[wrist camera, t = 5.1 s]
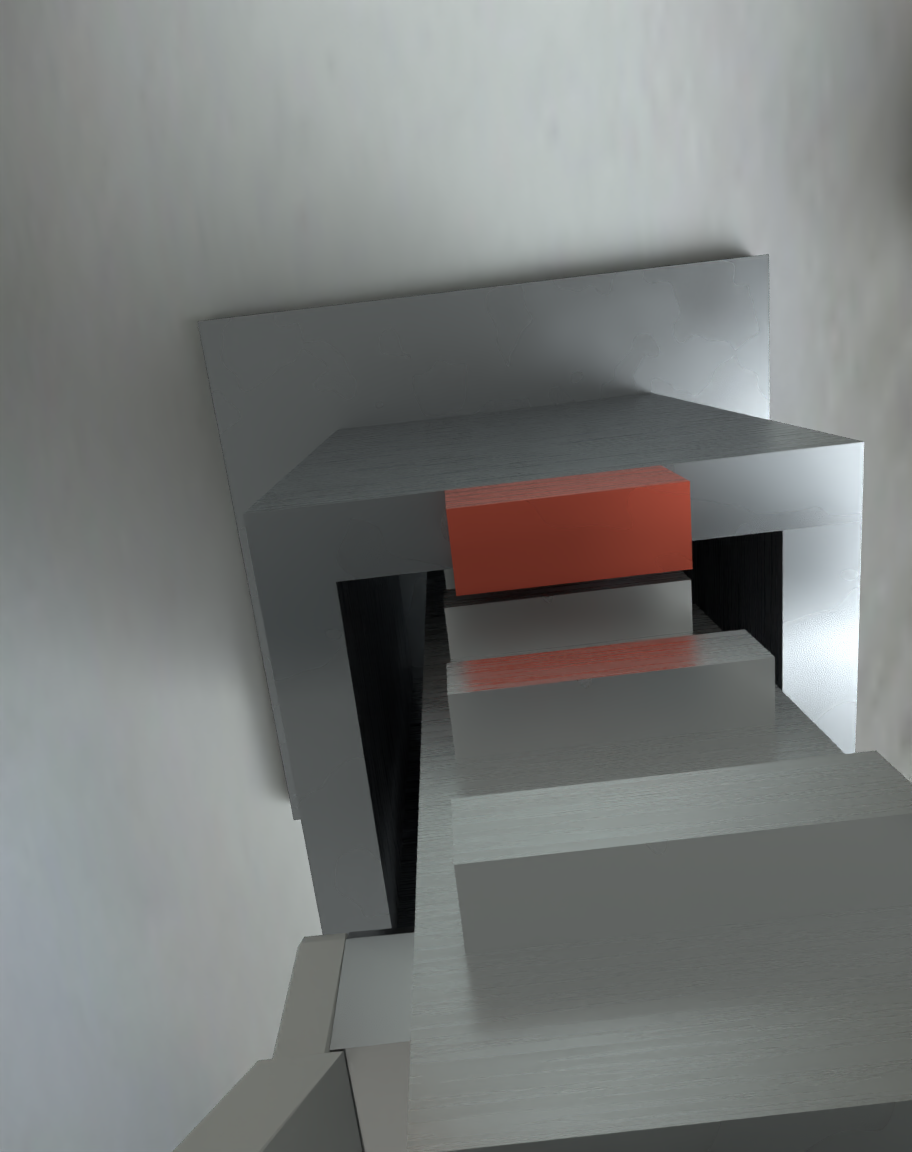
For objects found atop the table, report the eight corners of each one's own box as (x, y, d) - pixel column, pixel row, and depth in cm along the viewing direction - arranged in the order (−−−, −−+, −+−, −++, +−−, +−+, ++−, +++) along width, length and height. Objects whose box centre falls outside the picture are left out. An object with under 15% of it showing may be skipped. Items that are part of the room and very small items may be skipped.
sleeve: (755, 257, 23) (1220, 133, 10) (759, 751, 28) (1079, 1155, 14) (207, 322, 23) (-119, 292, 10) (298, 803, 28) (165, 1256, 14)
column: (575, 458, 24) (1183, 957, 4) (586, 624, 25) (1083, 1544, 6) (426, 475, 24) (389, 1047, 4) (446, 640, 25) (484, 1606, 6)
